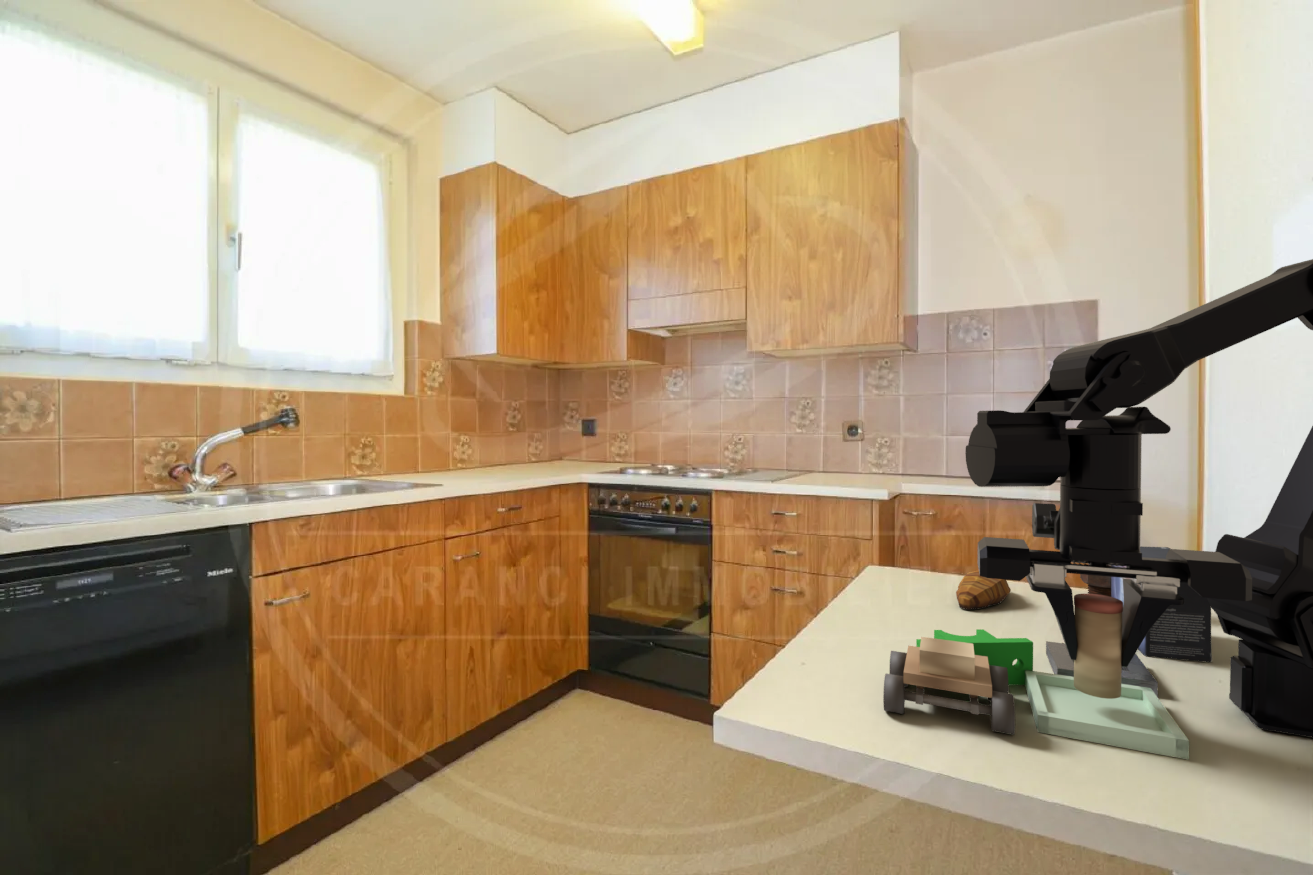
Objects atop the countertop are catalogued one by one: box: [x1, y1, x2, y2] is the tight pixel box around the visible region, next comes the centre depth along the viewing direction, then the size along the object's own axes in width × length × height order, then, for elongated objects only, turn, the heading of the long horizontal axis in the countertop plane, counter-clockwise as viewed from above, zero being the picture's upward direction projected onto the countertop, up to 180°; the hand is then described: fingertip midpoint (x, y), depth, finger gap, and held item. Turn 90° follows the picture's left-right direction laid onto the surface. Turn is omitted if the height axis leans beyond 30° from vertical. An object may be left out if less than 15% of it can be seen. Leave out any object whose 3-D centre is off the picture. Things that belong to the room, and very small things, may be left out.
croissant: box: [955, 569, 1012, 610], centre depth 87 cm, size 14×7×5 cm, turn 131°
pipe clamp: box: [915, 628, 1034, 686], centre depth 62 cm, size 11×4×5 cm, turn 90°
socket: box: [1045, 641, 1159, 697], centre depth 63 cm, size 8×8×1 cm
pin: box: [1073, 593, 1123, 699], centre depth 54 cm, size 4×4×8 cm
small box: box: [1111, 546, 1213, 663], centre depth 71 cm, size 11×6×10 cm, turn 161°
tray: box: [1024, 670, 1190, 760], centre depth 54 cm, size 10×10×2 cm
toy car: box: [882, 636, 1016, 736], centre depth 56 cm, size 10×9×6 cm
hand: (1097, 661), depth 54 cm, fingers closed on pin, 3 cm apart
